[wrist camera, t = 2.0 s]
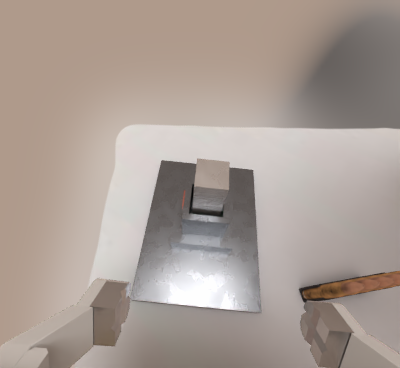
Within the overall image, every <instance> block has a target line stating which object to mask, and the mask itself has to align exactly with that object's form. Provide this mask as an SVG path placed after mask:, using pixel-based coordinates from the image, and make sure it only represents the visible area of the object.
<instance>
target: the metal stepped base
mask: <svg viewBox="0 0 400 368" xmlns="http://www.w3.org/2000/svg"><path fill="white" fill-rule="evenodd" d="M196 166H197V164H192V163H182V162H173V161H163V160H162V161H161V165H160V170H159V174H158V179H157V183H156V187H155V192H154V196H153V201H152V205H151V209H150V214H149V218H148V223H147V227H146V231H145V236H144V240H143V245H142V249H141V254H140V258H139V262H138V267H137V271H136V276H135V280H134V284H133V289H132V293H131V298H130V300H136V301H146V302H156V303H166V304H176V305H186V306H196V307H206V308H216V309H225V310H235V311H245V312H255V313H261V303H260V285H259V267H258V248H257V230H256V212H255V194H254V176H253V170H248V169H239V168H229V191H228V194H227V197H226V200H225V202H224V205H223V208H222V211H221V213H220V216H219V217H217V216H207V215H197V214H192V208H193V194H194V183H195V174H196Z"/></svg>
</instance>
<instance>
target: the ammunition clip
mask: <svg viewBox="0 0 400 368" xmlns="http://www.w3.org/2000/svg"><path fill="white" fill-rule="evenodd" d="M394 286H400V271H395V272H390V273H379V274H374V275H368V276H363V277H357V278H352V279H346V280H341V281H335V282H330V283H324V284H318V285H314V286H309V287H304V288H299V290H300V293H301V296H302V299H303V302H306V301H307V300H308V301H322V300H329V299H334V298H339V297H344V296H349V295H355V294H360V293H365V292H370V291H375V290H381V289H386V288H391V287H394Z"/></svg>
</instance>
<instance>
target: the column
mask: <svg viewBox="0 0 400 368" xmlns="http://www.w3.org/2000/svg"><path fill="white" fill-rule="evenodd" d="M228 191H229V162H224V161H214V160H205V159H197V166H196V174H195V183H194V194H193V208H192V214H197V215H207V216H217V217H219V216H220V213H221V211H222V208H223V205H224V202H225V200H226V197H227V194H228Z"/></svg>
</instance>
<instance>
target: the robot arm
mask: <svg viewBox="0 0 400 368" xmlns="http://www.w3.org/2000/svg"><path fill="white" fill-rule="evenodd" d="M130 290H131V283H130V282H124V281H116V280H107V279H99V278H98V279H96V280H95V281H94V282H93V283H92V285H91V286H90V287H89V289H88V290H87V291H86V293H85V294H84V295H83V297H82V298H81V299H80V301H79V302H78V303H77V305H72V306H70V307H68V308H66V309H65V310H63V311H61V312H59V313H57V314H56V315H54V316H52V317H50V318H48V319H47V320H45V321H43V322H41V323H40V324H38V325H36V326H34V327H32V328H30V329H29V330H27V331H25V332H23V333H21V334H19V335H18V336H16V337H14V338H12V339H10V340H9V341H7V342H5V343H4V344H3V345H2V346H1V347H0V368H70V367H71V366H72V365H73V364H74V363H75V362H77V361H78V360H79V359H80V358H81V357H82V356H83V355H84V354H85V353H86V352H88V351H89V350H90V349H91V348H92V347H93V345H103V346H115V344H116V342H117V340H118V337H119V335H120V332H121V324H123V323H124V322H125V320H126V318H127V315H128V311H129V307H130V297H129V296H128V295H129V292H130ZM304 309H305V311H306V312H305V313H304V314H303V315H302V316H301V321H300V326H301V331H302V335H303V337H304V339H305V340H306V341H307V342H308V343H309V344H310V345H311V348H310V351H311V353H312V355H313V357H314V359H315V361H316V363H317V365H318V367H326V368H400V354H399V353H397V352H396V351H394V350H393V349H391V348H390V347H388V346H387V345H385V344H384V343H382V342H381V341H379V340H378V339H376V338H375V337H373V336H372V335H367V333H366V332H365V331H364V330H363V329H362V327H361V326H360V325H359V324H358V322H357V321H356V320H355V319H354V318H353V316H352V315H351V314H350V313H349V312H348V310H347V309H346V308H345V307H344V305H342V304H341V303H332V302H318V301H308V300H307V301H306V302H305V305H304Z"/></svg>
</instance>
